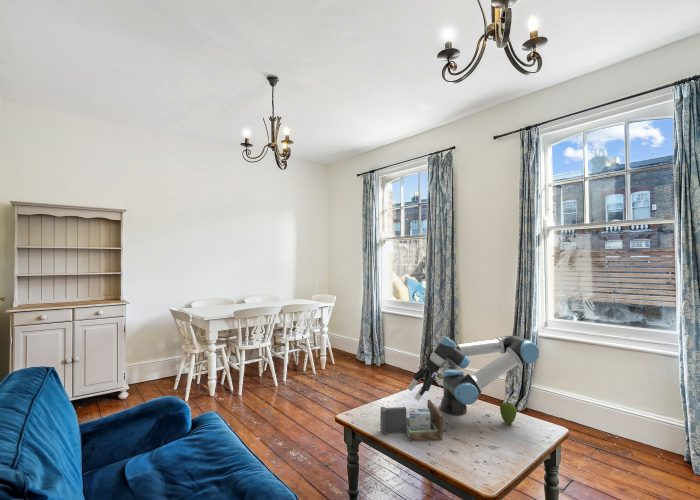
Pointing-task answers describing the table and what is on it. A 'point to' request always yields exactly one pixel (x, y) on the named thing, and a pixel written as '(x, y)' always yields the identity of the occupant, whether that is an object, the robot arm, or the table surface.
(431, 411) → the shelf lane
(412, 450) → the table surface
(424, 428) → the light bulb box
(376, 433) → the table surface
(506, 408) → the green rounded lump
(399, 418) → the pull cradle
